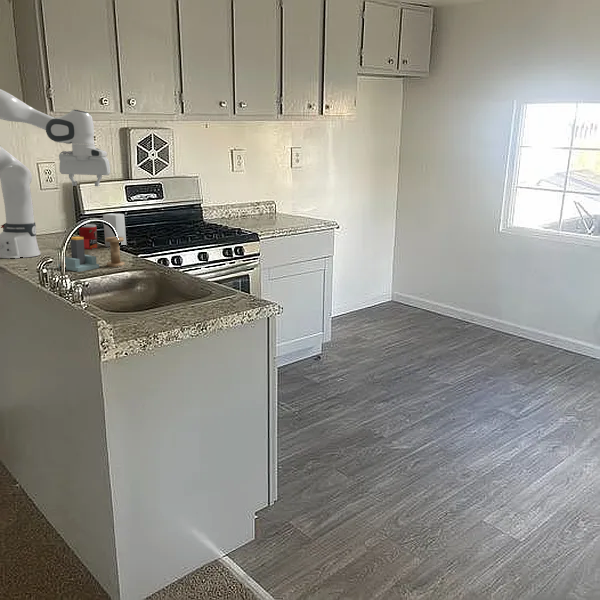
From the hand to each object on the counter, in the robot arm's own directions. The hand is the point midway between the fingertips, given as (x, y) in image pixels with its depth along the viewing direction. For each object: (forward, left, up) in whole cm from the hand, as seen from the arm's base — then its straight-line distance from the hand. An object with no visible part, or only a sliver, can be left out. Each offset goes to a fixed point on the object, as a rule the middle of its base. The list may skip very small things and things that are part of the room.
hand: (85, 186), depth 254 cm
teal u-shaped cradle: (+2, -17, -31) cm, 35 cm away
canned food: (-12, +30, -31) cm, 45 cm away
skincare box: (-2, +38, -31) cm, 49 cm away
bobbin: (+14, -10, -31) cm, 36 cm away
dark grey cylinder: (+2, -17, -30) cm, 34 cm away
